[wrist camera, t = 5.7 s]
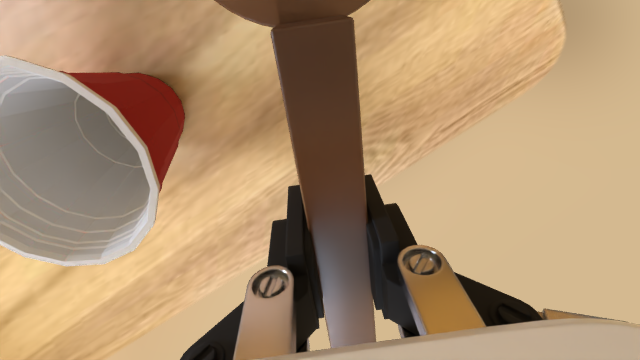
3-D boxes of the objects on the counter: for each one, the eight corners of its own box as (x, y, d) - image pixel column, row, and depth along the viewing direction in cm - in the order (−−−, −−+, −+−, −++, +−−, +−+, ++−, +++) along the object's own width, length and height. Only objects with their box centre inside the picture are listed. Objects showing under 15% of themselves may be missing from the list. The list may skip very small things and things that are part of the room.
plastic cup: (130, -3, 21) (-35, -11, 11) (243, 118, 26) (205, 195, 15) (41, 96, 24) (-161, 166, 13) (156, 189, 28) (74, 296, 18)
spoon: (408, 308, 16) (431, 371, 13) (287, 325, 16) (285, 391, 13) (418, -353, 6) (517, -646, 3) (104, -302, 6) (-49, -546, 3)
